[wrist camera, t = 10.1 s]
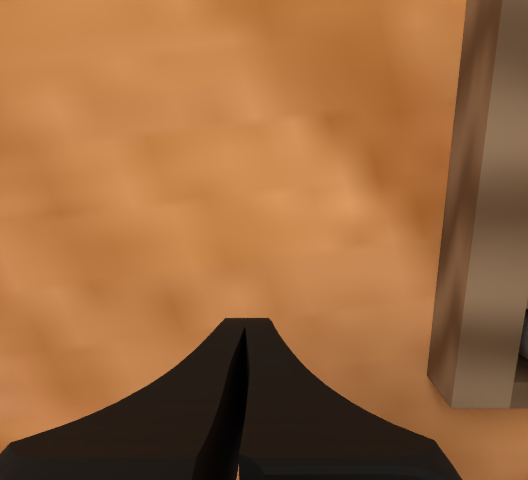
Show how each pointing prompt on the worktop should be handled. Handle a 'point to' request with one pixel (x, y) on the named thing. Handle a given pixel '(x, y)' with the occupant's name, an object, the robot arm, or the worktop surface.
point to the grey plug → (524, 337)
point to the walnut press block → (486, 218)
